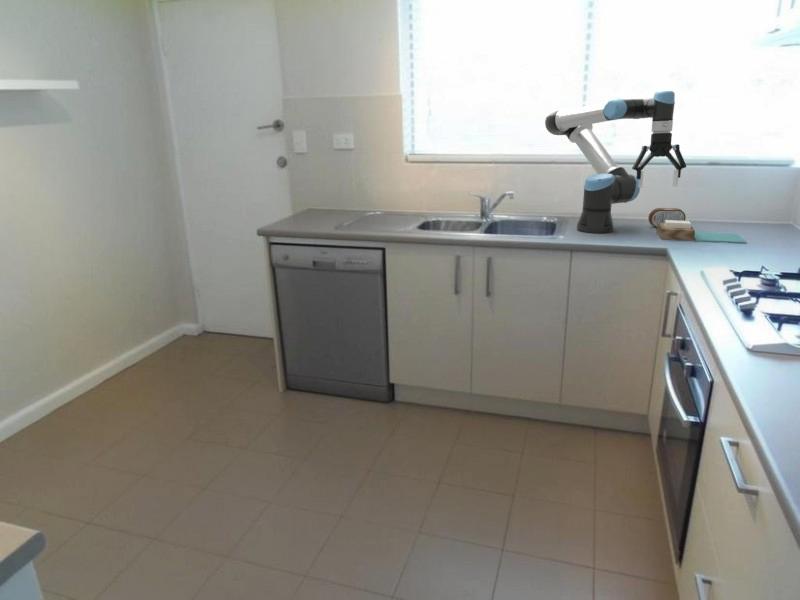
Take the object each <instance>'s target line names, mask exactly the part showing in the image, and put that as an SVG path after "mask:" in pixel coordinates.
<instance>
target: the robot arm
mask: <svg viewBox="0 0 800 600" xmlns="http://www.w3.org/2000/svg"><path fill="white" fill-rule="evenodd" d="M675 97H676V96H675V92H674V91H672V90H666V91H665V90H664V91H663V90H662V91H655V92H654V94H653V97H651V98H629V99H628V98H627V99H626V98H614V99H610V100H608V101H605V102H601V103H600V102H599V103H596V104H590V105H586V106H581V107H578V108H577V107H576V108H575V107H574V108H558V109H557V108H556V109H554V110H551V111H549V113H548V114H547V115H546V118H545V119H544V125H545V128H546V130H547V132H549V133H550V134H551V135H554V136H566V138H568V140H569V141H570V142H571V144H572V143H574V144H576V146H577V147H578V148H579V150H580V151H581V152H582V154H583V155H584V157H585V159H587V161H588V162H589V164H590V165H591V167H592V168H593V170H594V171H595V172H596V173H595V174H591V175H589V176H587V177H586V178H585V181H584V185H583V189H584V190H583V199H582V211H581V214H580V216H579V218H578V220H577V223H576V230H577V231H579V232H585V233H590V234H591V233H594V234H605V233H612V232H613V231H614V227H615V226H614V220H613V217H612V205H614V204H621V203H623V204H624V203H625V204H626V203H629V202H632V201H634V200H635V199H637V197H638V196H639V194H640V190H641V188H643V184H644V183H643V181H644V171H643V169H644V168H645V167H646V166H647V165H648V163H650V161H652V159H653V158H654V157H655V158H659V157H666V158H667V159H668V160H669V162H670V163H671V164H672V165H673V166H674V168H675V169H673V178H672V179H673V180H672V187H678V181H679V178H681V174H682V170H683V169H685V168H687V165H686V162H685V159H684V157H683V155H682V152H681V150H680V148H681V147H680V144H674V145H672V138H673V136H672V135H673V133H672V131H673V125H674V121H673V120H674V119H673V118H674V110H675V103H676V100H675V99H676V98H675ZM648 118H649V119H650V118H651V120H652V123H651V130H650V131H651V132H652V133H651V135H650V145H649V146H648V145H647V146H646V145H642V147H641V150H640V153H639V155H638V157H637V158H636V160H635V162H634V164H633V166H632V170H634V171H636V175H634V174H629V173H628V172H627V170H626V169H625V168H624V167H623V166H619V165H617V163H616V161H614V159H613V158H612V156H611V155H610V154H609V152H608V151H607V149H606V148H605V146H604V145H603V144H602V143H601V142H600V140H599V138H598V137H597V135H596V134H595V133H594V131H593V124H598V123H605V122H612V121H617V120H625V119H626V120H628V119H631V120H633V119H634V120H640V119H648ZM671 150H673V152H674V153H675V156H676V158H677V160H676V158H674V156H673V154H672V153H671ZM648 151H650V153H648V156H646V158H645V159H644V160H643V158H644V157H645V155H646V154H647V152H648Z"/></svg>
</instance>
